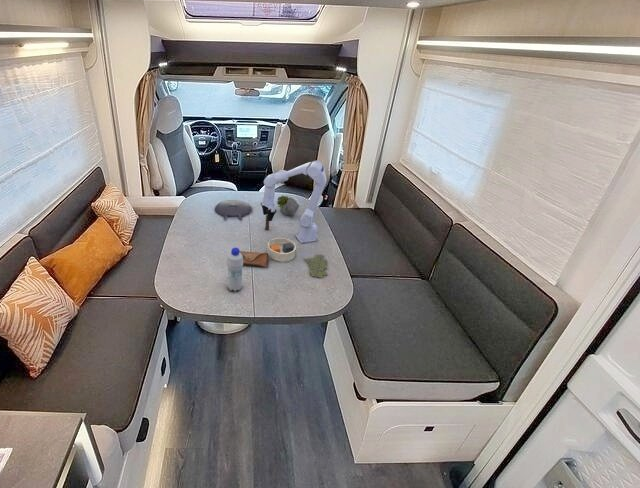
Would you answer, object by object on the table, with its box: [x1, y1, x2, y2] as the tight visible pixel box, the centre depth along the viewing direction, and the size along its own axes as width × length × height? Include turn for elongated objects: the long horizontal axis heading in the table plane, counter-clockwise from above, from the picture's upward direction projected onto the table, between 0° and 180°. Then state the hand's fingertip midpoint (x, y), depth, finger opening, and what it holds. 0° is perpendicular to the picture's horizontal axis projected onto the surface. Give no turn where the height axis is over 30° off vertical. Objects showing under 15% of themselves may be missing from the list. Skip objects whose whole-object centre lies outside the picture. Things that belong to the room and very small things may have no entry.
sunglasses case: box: [240, 250, 269, 268], centre depth 152 cm, size 18×7×7 cm
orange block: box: [270, 245, 280, 253], centre depth 157 cm, size 4×4×4 cm
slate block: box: [283, 243, 293, 253], centre depth 159 cm, size 4×4×4 cm
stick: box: [264, 215, 270, 231], centre depth 179 cm, size 2×2×9 cm
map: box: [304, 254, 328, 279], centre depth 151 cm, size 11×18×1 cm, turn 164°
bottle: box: [226, 247, 244, 292], centre depth 131 cm, size 7×7×20 cm
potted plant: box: [276, 194, 300, 217], centre depth 198 cm, size 12×13×15 cm
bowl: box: [266, 237, 297, 263], centre depth 158 cm, size 14×14×5 cm
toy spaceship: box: [214, 199, 253, 221], centre depth 200 cm, size 28×24×3 cm
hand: (267, 217), depth 178 cm, fingers open, 7 cm apart
